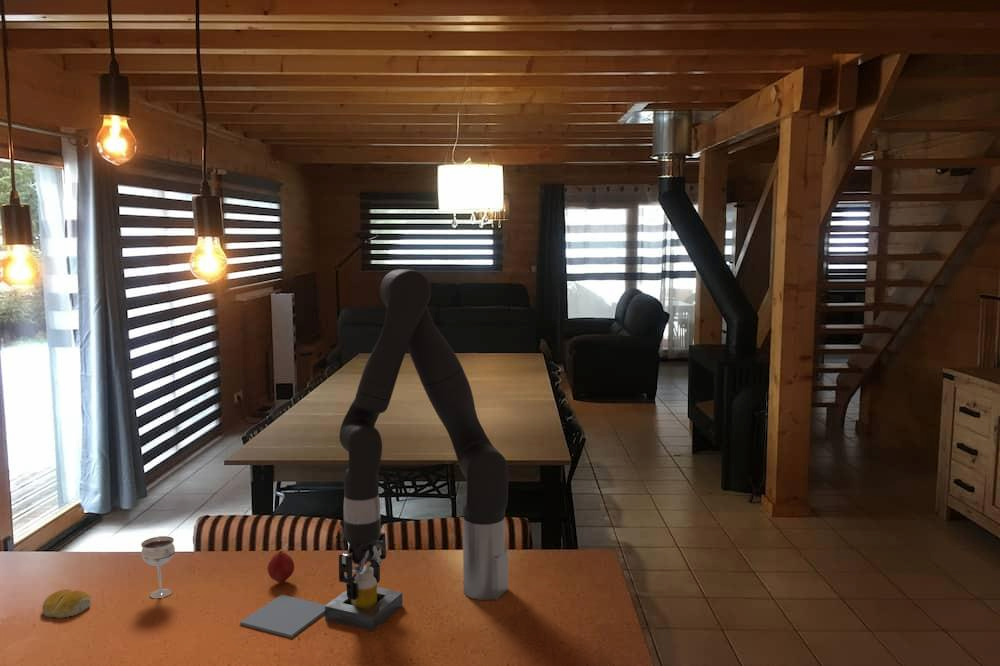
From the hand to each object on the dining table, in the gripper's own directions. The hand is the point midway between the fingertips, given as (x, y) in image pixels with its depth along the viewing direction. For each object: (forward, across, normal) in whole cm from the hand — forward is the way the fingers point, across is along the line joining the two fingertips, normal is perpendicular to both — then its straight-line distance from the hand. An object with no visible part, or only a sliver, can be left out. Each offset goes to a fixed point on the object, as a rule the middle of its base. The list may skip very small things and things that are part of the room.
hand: (364, 590), depth 164 cm
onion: (+5, +4, +25) cm, 26 cm away
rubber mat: (+5, -8, +14) cm, 17 cm away
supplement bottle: (+5, 0, 0) cm, 5 cm away
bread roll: (+6, -24, +59) cm, 64 cm away
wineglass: (+5, -11, +46) cm, 48 cm away
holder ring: (+5, 0, 0) cm, 5 cm away
